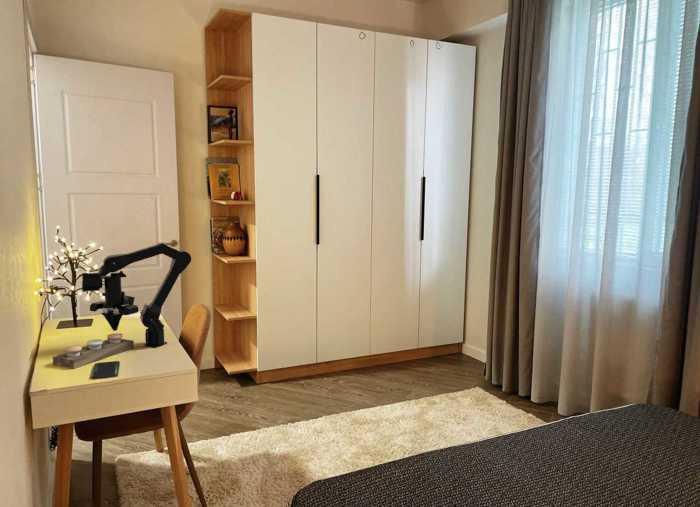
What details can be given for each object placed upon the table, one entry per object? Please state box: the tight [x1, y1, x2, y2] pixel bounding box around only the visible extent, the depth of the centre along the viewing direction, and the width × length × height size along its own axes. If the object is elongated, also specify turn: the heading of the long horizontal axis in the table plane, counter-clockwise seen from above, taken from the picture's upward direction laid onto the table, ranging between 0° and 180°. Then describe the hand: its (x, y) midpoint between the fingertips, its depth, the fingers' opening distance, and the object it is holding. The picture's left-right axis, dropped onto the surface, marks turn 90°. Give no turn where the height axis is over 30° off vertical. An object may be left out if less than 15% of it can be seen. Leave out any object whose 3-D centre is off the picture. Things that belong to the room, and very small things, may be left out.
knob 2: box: [106, 332, 124, 344], centre depth 197 cm, size 5×5×4 cm
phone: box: [90, 360, 121, 380], centre depth 174 cm, size 8×1×15 cm
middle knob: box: [86, 338, 104, 351], centre depth 189 cm, size 5×5×4 cm
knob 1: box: [64, 345, 83, 358], centre depth 180 cm, size 5×5×4 cm
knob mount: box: [52, 338, 135, 370], centre depth 189 cm, size 10×26×3 cm, turn 157°
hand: (115, 330), depth 196 cm, fingers closed
